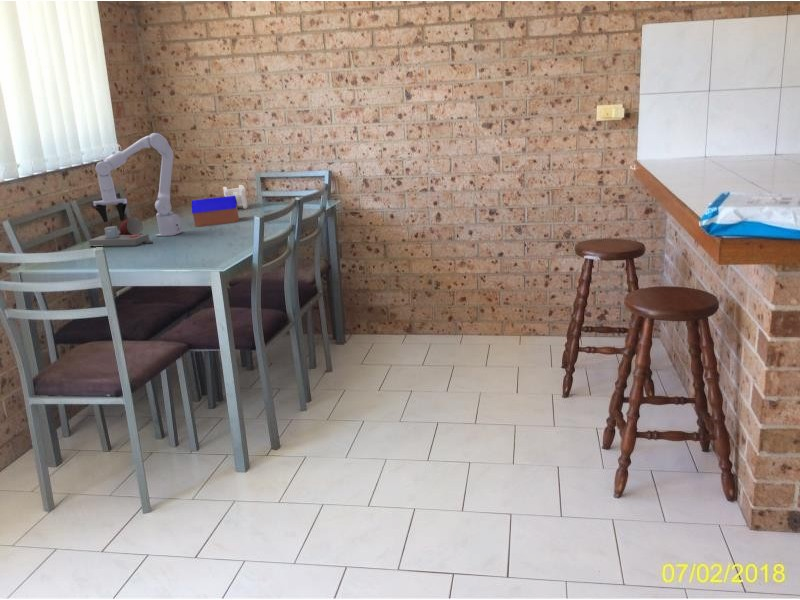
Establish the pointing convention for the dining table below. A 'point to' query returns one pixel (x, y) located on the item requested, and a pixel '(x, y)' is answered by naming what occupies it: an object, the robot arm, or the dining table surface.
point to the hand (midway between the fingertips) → (114, 221)
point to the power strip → (122, 240)
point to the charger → (111, 232)
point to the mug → (131, 227)
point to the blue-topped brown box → (215, 211)
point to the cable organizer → (237, 195)
